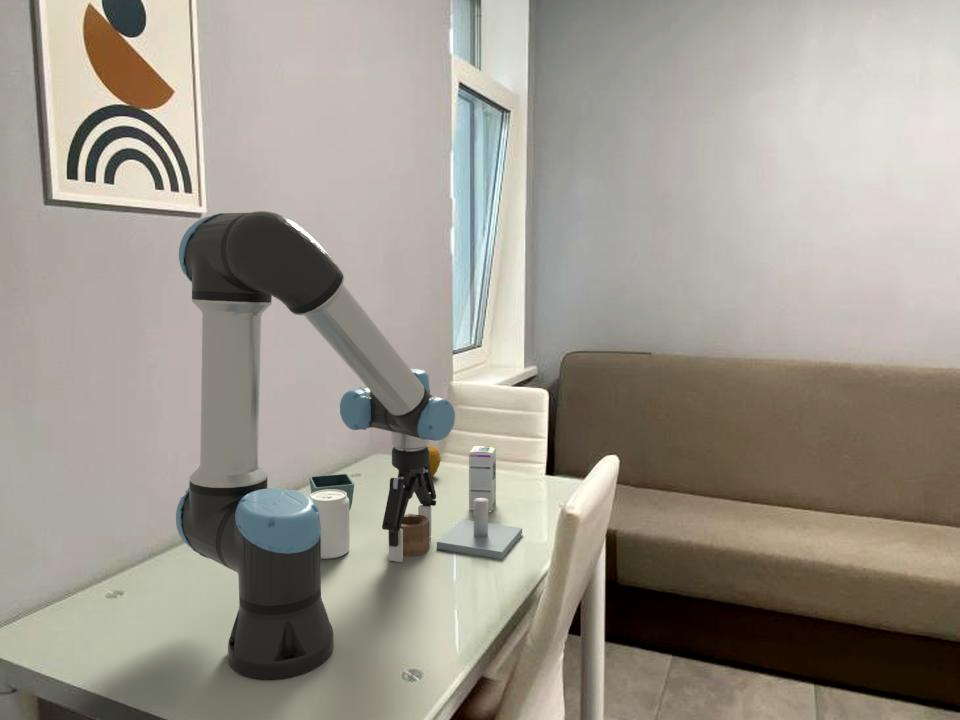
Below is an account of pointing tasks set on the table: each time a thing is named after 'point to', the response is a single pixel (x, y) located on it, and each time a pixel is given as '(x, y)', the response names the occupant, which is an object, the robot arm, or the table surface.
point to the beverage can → (333, 522)
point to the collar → (415, 534)
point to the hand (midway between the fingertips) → (411, 547)
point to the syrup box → (482, 475)
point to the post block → (480, 535)
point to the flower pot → (333, 484)
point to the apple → (433, 459)
